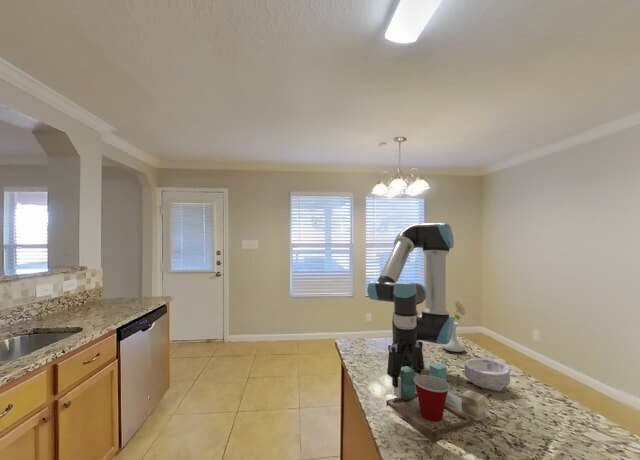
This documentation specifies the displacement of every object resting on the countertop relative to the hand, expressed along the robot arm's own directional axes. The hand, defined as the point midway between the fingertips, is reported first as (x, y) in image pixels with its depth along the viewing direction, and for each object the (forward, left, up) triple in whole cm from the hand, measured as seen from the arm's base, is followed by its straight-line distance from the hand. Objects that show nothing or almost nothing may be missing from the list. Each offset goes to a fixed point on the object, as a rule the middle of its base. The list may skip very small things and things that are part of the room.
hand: (406, 393), depth 103 cm
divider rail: (+10, +9, -3) cm, 14 cm away
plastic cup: (+12, 0, -3) cm, 12 cm away
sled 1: (+9, 0, -3) cm, 9 cm away
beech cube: (+16, +13, -2) cm, 21 cm away
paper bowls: (+4, +36, -3) cm, 36 cm away
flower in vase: (-28, +58, -3) cm, 65 cm away
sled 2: (+10, +13, -3) cm, 17 cm away
